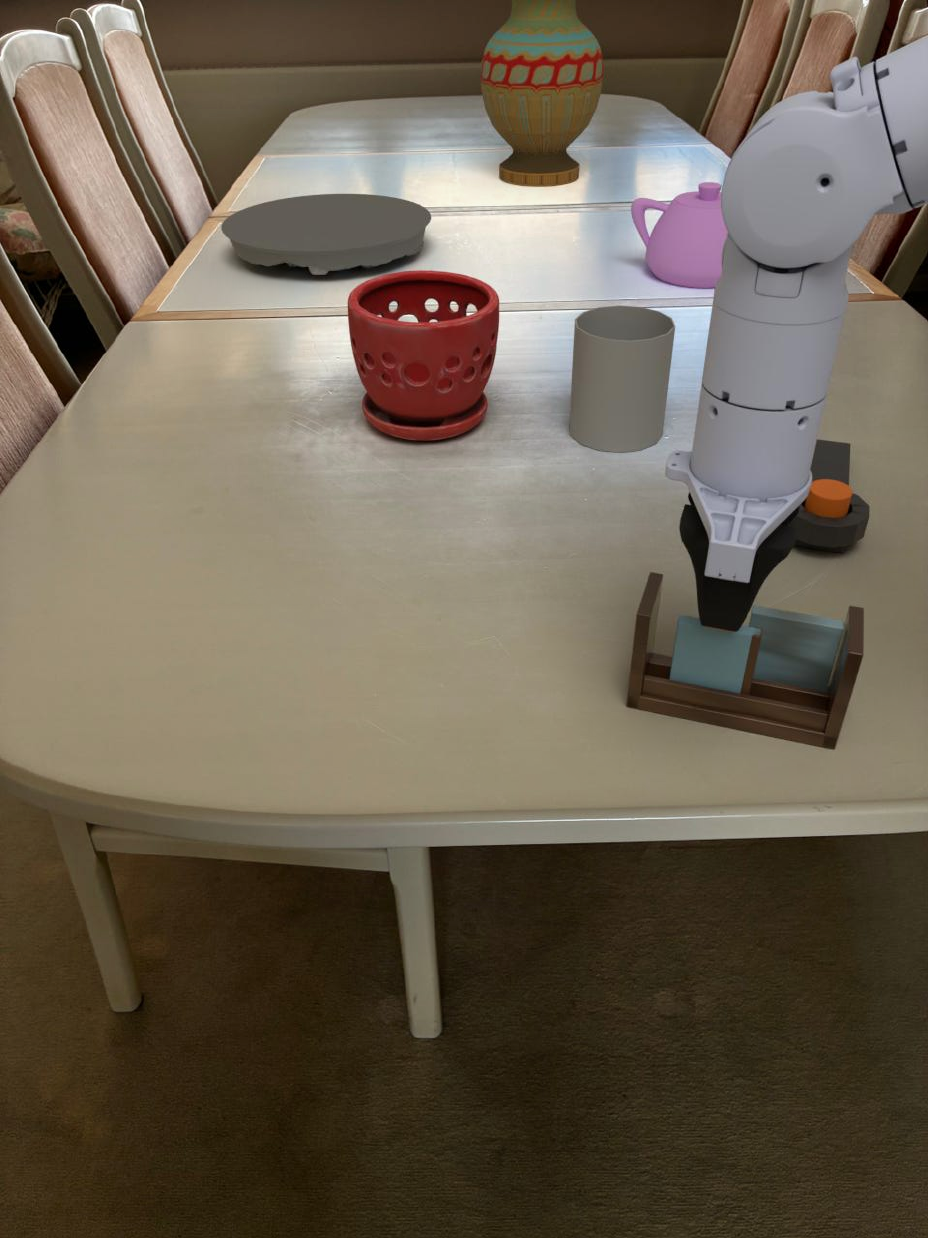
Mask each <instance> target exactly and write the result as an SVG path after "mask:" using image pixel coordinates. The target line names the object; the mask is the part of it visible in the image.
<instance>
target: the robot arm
mask: <svg viewBox="0 0 928 1238" xmlns="http://www.w3.org/2000/svg"><path fill="white" fill-rule="evenodd" d="M829 79H830V83H831V86H832V90H833V91H827V92H820V91H819V90H810V91H805V92H799V93H797V94H794V95H791V96H789V97H786V98H784V99H783V100H780V101H779V102H777V103H776V104H774V105H773V106H772V107H770V109H768V110H767V111H765V113H764V114H763V115H762V116H761V117H760V118H759V119H758V120H756V123H755V124H754V125H753V127H752V128H751V129H750V131H749V132H748V134H747V135H746V136H745V138H744V139H742V141H741V143H740V144H739V146H737V148H736V150H735V151H734V153H733V154H732V156H731V159H730V160H729V163H728V165H727V167H726V169H725V170H726V171H725V172H724V177H723V180H722V181H723V182H722V187H721V191H720V192H721V209H722V216H723V220H724V223H725V226H726V228H727V231H728V233H727V238H726V240H725V242H724V244H723V248H722V254H721V264H722V274H721V278H720V279H719V280H718V282H717V284H716V286H715V288H714V291H713V298H712V305H711V313H710V318H709V319H710V320H709V327H708V333H707V341H706V342H707V343H706V348H705V355H704V362H703V369H702V377H701V383H700V391H699V400H698V405H697V406H698V407H697V414H696V422H695V427H694V429H695V430H694V435H693V443H692V449H691V451H686V450H685V451H684V450H674V451H671V452H670V453H669V454H668V458H667V461H666V463H665V471H664V476H665V477H666V478H667V479H668V480H672V481H676V482H677V481H678V482H682V483H684V484H685V485H686V487H687V490H688V491H689V492H688V495H687V499H688V501H689V504H686V503H685V504H683V505H684V506H683V509H682V512H681V516H680V519H679V527H678V529H679V535H680V540H681V543H682V544H683V546H684V547H685V549H686V551H687V553H688V555H689V558H690V560H691V564H692V567H693V573H694V578H695V587H696V588H695V589H696V601H697V611H698V618H700V623H701V625H702V626H706V627H712V628H717V629H723V630H728V631H734V632H737V631H739V629H740V628H741V626H743V625H744V623H745V621H746V619H747V618H748V615H749V613H750V611H751V610H752V607H753V604H754V602H755V600H756V598H757V595H758V593H759V591H760V590H761V587H762V586H763V584H764V583H765V581H766V580H767V578H768V577H769V576H770V574H771V573H772V572H773V570H774V569H775V568H777V566H778V565H779V564H781V563H782V562H783V561H784V560H786V559H787V557H788V556H789V555H790V553H791V552H792V549H793V548H794V547H795V546H794V544H795V539H796V530H797V528H796V527H790V526H788V525H789V523H790V522H791V521H792V520H793V519H794V518H795V517H796V516H797V515H798V513H799V508H800V504H801V503H802V502H803V501H804V500H805V499H806V498H807V496H808V494H809V492H810V487H811V483H812V473H811V471H810V468H811V463H812V459H813V454H814V450H815V445H816V441H817V439H818V437H819V431H820V427H821V423H822V417H823V414H824V411H825V405H826V401H827V397H828V390H829V386H830V382H831V377H832V373H833V369H834V365H835V361H836V356H837V352H838V347H839V344H840V343H839V342H840V338H841V335H842V330H843V325H844V320H845V316H846V312H847V309H848V308H847V307H848V303H849V290H848V287H847V282H846V278H847V273H848V269H849V264H850V259H851V255H852V251H853V246H854V244H855V243H856V242H857V241H858V240H859V239H860V238H861V236H862V235H863V233H864V232H865V230H866V228H867V226H868V225H869V223H870V221H871V220H872V218H873V217H874V216H878V215H902V214H905V213H907V212H910V211H913V210H914V209H917V208H918V209H919V208H920V207H923V206H924V205H928V34H926V35H925V36H923V37H921V38H919V39H917V40H914V41H912V42H910V43H908V44H906V45H904V46H902V47H900V48H898V49H896V50H894V51H892V52H890V53H888V54H886V55H884V56H882V57H880V58H878V59H876V60H875V61H872V62H870V63H867V64H865V65H864V66H861V64H860V60H859V58H858V57H857V56H853V57H851V58H849V59H847V60H845V61H843V62H841V63H838V64H837V65H835V66H834V67H833V68H832V69H831V71H830V73H829Z"/></svg>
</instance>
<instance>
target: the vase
mask: <svg viewBox="0 0 928 1238" xmlns="http://www.w3.org/2000/svg"><path fill="white" fill-rule="evenodd" d="M603 79H604V58H603V53H602V48H601V46H600V43H599V41H598V39H597V38H596V37H595V35H594V34H593V33H592V31H591V30H589V29H588V27H587V26H586V25H584V23H582V22H581V20H580V19H579V18H578V13H577V9H576V0H511V11H510V15H509V18H508V19H507V20H506V22H505V23H504V24H503V25H502V26H501V27H500V28H499V29H498V30H496V32H495V33H494V34H493V35H492V37H490V39H489V41H488V42H487V44H486V46H485V48H484V51H483V55H482V58H481V65H480V86H481V87H480V88H481V96H482V100H483V104H484V109H485V111H486V114H487V116H488V119H489V122H490V123H491V125H492V127H493V128H494V129H495V131H496V132H497V133H498V134H499V136H500V137H501V138H502V139H503V140H504V141H505V142H506V143H507V144H508V145H509V146H510V148H512V153H511V154H510V155H509V156H507V158H505V159H504V160H502V161H501V162H500V163H499V164H498V179H500V180H501V181H502V182H504V183H507V184H511V185H518V186H526V187H550V186H551V187H552V186H560V185H565V184H569V183H573V182H575V181H577V180H578V179H579V178H580V163H579V162H578V161H576V160H575V159H574V158H573V157H571V155H569V153H568V152H567V150H568V147H570V146H571V145H572V144H573V143H574V142H575V141H576V140H577V139H578V138H579V137H580V136H581V135H582V134H583V132H584V131H585V130H586V129H587V128H588V127H589V125H590V123H591V121H592V119H593V117H594V115H595V113H596V111H597V108H598V106H599V101H600V98H601V95H602V89H603V81H604V80H603Z"/></svg>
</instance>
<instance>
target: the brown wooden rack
mask: <svg viewBox="0 0 928 1238" xmlns="http://www.w3.org/2000/svg"><path fill="white" fill-rule="evenodd" d="M663 580H664V573H659V572H654V571H650V572H649V574H648V577H647V580H646V584H645V587H644V590H643V593H642V596H641V599H640V602H639V605H638V609H637V611H636V616H635V622H634V623H635V624H634V634H633V640H632V641H633V642H632V651H631V660H630V667H629V677H628V685H627V694H626V702H625V703H626V704H625V706H626V707H627V708H631V709H632V708H633V709H637V710H642V711H647V712H652V713H656V714H661V715H665V716H671V717H676V718H680V719H685V720H691V721H696V722H700V723H705V724H710V725H713V726H714V725H715V726H719V727H724V728H730V729H733V730H739V731H743V732H749V733H753V734H759V735H762V736H767V737H773V738H777V739H781V740H787V741H793V742H796V743H801V744H806V745H812V746H816V747H822V748H825V749H826V748H827V749H831V750H835V749H836V748H837V743H838V742H839V738H840V735H841V731H842V728H843V725H844V724H843V723H844V721H845V717H846V714H847V711H848V709H849V708H848V707H849V705H850V702H851V698H852V694H853V691H854V688H855V685H856V681H857V678H858V676H859V675H858V674H859V672H860V668H861V665H862V661H863V659H864V653H865V652H864V651H865V650H864V649H865V608H864V607H861V606H856V605H849V606H848V609H847V612H846V616H845V619H844V620H841V619H835V618H829V617H824V616H818V615H813V614H812V615H811V614H807V613H806V614H805V613H800V612H794V611H788V610H783V609H778V608H777V609H776V608H770V607H765V606H760V605H752V607H751V613H750V618H749V622H748V627H753V628H754V627H758V628H762V629H763V631H762V638H761V642H760V647H759V652H758V656H757V661H756V665H755V670H754V675H753V679H752V684H751V688H750V693H749V695H745V694H740V693H735V692H730V691H724V690H719V689H714V688H709V687H704V686H699V685H694V684H689V683H684V682H679V681H674V680H669V677H670V670H671V664H672V657H673V655H672V656H671V655H667V654H661V653H656V652H654V648H655V641H656V633H657V626H658V618H659V611H660V603H661V595H662V589H663Z"/></svg>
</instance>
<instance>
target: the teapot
mask: <svg viewBox="0 0 928 1238" xmlns="http://www.w3.org/2000/svg"><path fill="white" fill-rule="evenodd" d="M697 186H698V187H697V188H698V190H697V191H695V190H694V191H688V192H683V193H680V194H677V195H676V196H675V197H674V198H673V199H672V200H671V201H670V202H669V204H668V203H665V202H663V201H659V200H657V199H652V198H649V197H637V198H635V199H634V200H633V201H632V203H631V208H630V212H631V218H632V222H633V224H634V226H635V229H636V231H637V233H638V235H639V237H640V239H641V241H642V242H643V244H644V246H645V248H646V249H645V261H646V264H647V266H648V268H649V269H650V271H651V272H652V274H654V276H655V277H656V278H657V279H658V280H660V281H662V282H664V283H666V284H671V285H673V286H674V285H675V286H679V287H684V288H695V289H715V286H716V284H717V282H718V280H719V279H720V278H721V274H722V264H721V254H722V248H723V244H724V242H725V240H726V238H727V233H728V231H727V228H726V226H725V223H724V220H723V216H722V209H721V192H722V186H723V184H720V183H718V182H713V181H704V182H700V183H699V184H697ZM648 209H651V210H652V209H653V210H657V211H659V212H662V214H661V216H659V218H658V220H657V222H656V223H655V225H654V226H653V228H652V231H651V233H650V234H649V231H648V229H647V224H646V215H645V213H646V211H647V210H648Z"/></svg>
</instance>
